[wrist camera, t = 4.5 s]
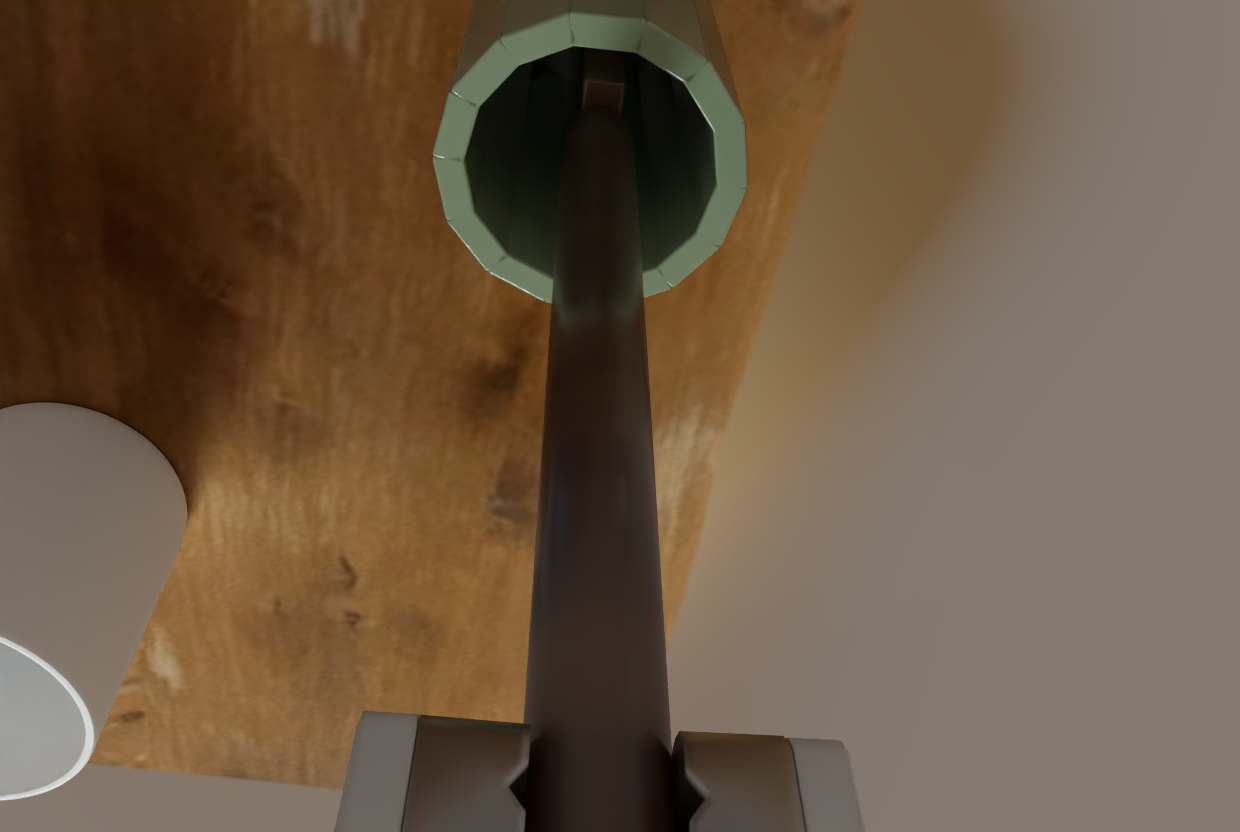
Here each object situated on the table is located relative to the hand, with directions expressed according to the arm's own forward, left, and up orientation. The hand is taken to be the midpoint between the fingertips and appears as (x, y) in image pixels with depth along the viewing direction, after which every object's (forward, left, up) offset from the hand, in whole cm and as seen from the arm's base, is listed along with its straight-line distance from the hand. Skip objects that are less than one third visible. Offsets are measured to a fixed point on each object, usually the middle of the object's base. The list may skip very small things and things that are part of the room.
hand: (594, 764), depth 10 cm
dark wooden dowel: (0, 0, -20) cm, 20 cm away
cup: (+18, -18, -25) cm, 36 cm away
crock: (0, 0, -25) cm, 25 cm away
